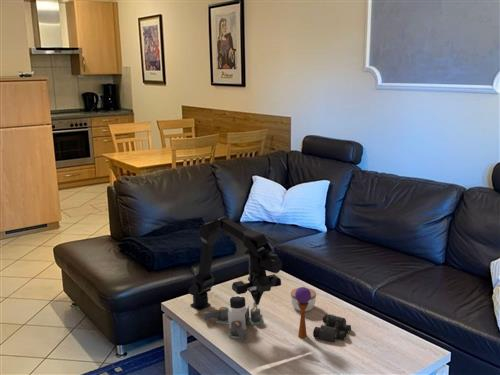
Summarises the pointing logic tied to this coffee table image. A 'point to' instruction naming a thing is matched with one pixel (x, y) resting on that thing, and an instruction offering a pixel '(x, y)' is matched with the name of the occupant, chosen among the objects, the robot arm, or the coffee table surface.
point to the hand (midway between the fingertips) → (256, 304)
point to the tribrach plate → (238, 335)
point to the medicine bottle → (238, 311)
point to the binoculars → (332, 328)
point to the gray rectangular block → (238, 330)
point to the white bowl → (311, 301)
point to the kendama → (302, 308)
